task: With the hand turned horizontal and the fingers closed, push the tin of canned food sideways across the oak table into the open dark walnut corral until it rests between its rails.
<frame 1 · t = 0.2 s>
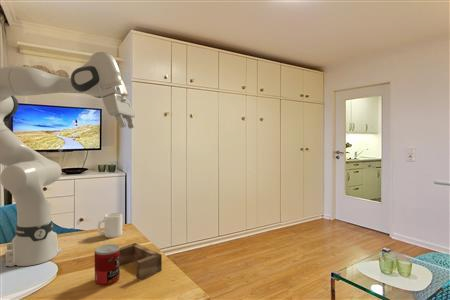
hand: (127, 127, 107), 52 cm above the table, tool tilted 20°, fingers open, 8 cm apart
cup: (109, 236, 135), on the table
canned food: (107, 280, 93), on the table
corral: (133, 269, 100), on the table
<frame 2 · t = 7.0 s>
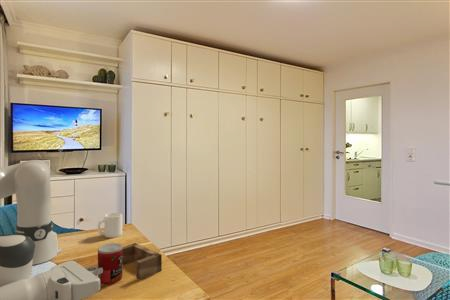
hand: (100, 268, 90), 5 cm above the table, tool horizontal, fingers closed
canned food: (110, 279, 94), on the table, touching gripper
everything else where it was.
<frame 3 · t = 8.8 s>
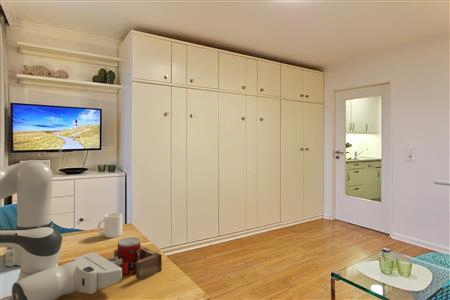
hand: (120, 259, 96), 5 cm above the table, tool horizontal, fingers closed, pressing on canned food
canned food: (129, 271, 100), on the table, touching gripper
everything else where it was.
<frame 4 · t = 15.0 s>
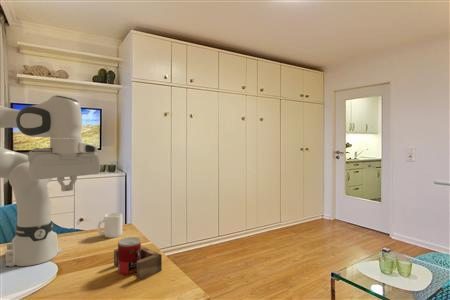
hand: (67, 190, 88), 31 cm above the table, tool pointing down, fingers closed
canned food: (129, 271, 100), on the table
everything else where it was.
at the end: canned food inside the target area (1.5 cm from its centre), on the table; canned food tilted 0°; canned food moved 8.6 cm from its start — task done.
